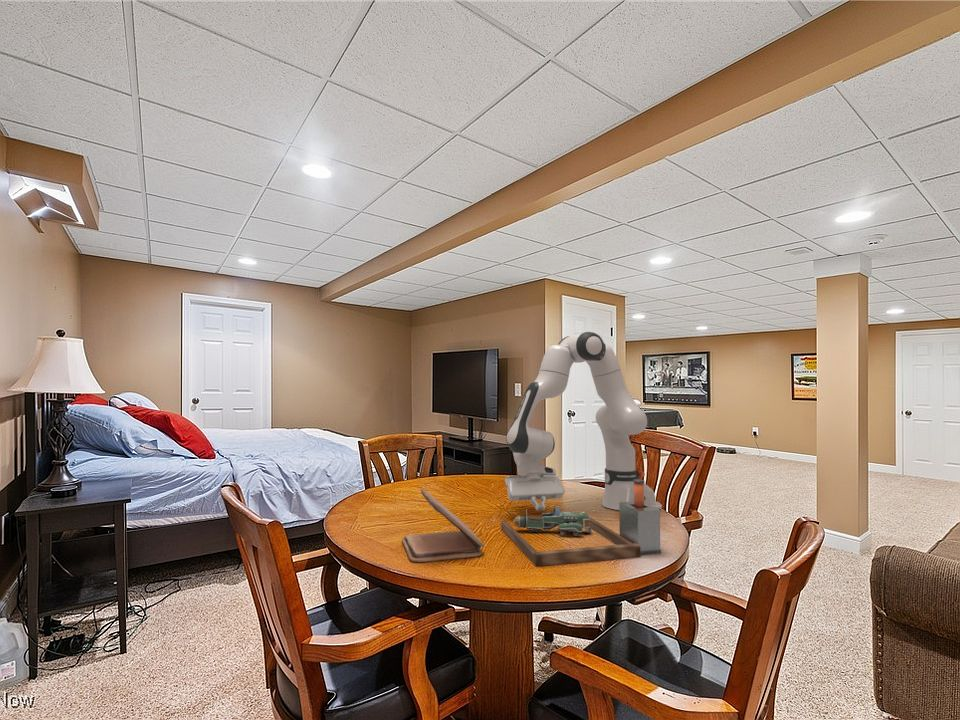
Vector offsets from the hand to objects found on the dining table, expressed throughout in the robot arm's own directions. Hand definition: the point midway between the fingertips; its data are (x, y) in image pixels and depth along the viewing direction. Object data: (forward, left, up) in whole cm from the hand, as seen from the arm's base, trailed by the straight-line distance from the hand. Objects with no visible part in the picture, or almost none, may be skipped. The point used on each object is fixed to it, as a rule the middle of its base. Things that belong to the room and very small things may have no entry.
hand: (540, 509), depth 165 cm
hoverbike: (0, +11, -5) cm, 12 cm away
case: (+37, +17, -5) cm, 41 cm away
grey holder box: (-19, +30, -4) cm, 36 cm away
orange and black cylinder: (-19, +30, +7) cm, 36 cm away
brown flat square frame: (0, +20, -4) cm, 20 cm away
